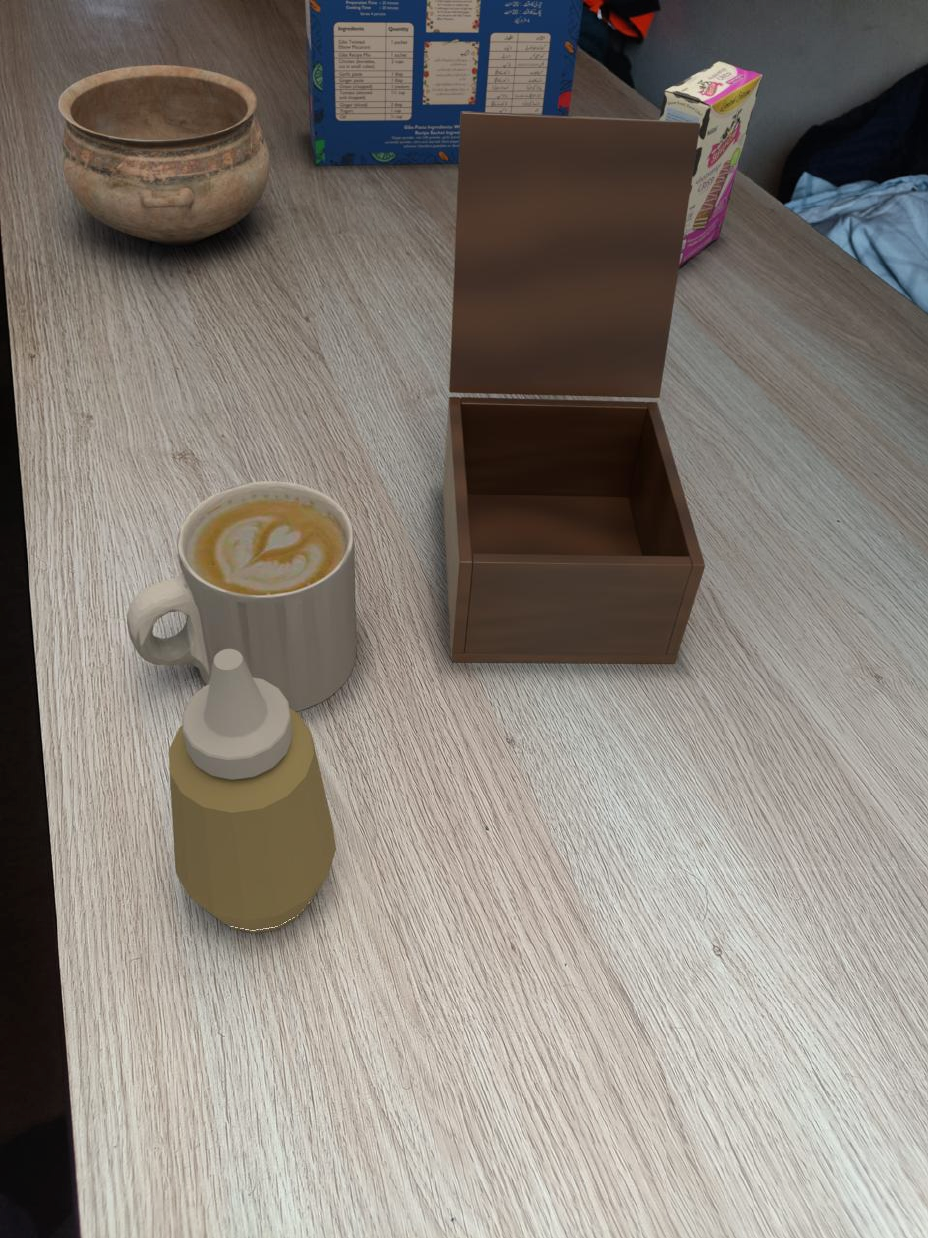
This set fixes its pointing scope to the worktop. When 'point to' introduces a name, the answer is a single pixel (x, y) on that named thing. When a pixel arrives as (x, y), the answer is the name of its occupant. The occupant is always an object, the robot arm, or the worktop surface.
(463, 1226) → the worktop surface
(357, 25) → the pasta box
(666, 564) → the chest
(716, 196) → the candy bar box
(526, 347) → the chest lid
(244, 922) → the squeeze bottle
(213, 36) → the worktop surface
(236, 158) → the cooking pot
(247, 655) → the coffee mug
